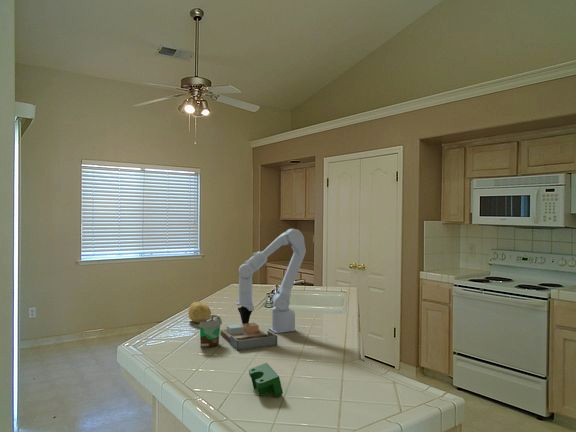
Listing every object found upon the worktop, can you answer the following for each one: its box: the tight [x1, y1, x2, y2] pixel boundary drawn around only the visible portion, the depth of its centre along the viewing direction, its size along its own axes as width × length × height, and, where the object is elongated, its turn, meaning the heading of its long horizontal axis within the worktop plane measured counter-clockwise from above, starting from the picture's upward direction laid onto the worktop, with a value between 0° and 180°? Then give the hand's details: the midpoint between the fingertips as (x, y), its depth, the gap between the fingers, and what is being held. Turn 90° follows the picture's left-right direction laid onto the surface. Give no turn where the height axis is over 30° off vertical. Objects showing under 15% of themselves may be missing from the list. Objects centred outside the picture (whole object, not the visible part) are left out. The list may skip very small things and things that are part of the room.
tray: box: [229, 330, 278, 351], centre depth 161 cm, size 16×8×4 cm, turn 116°
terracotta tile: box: [242, 322, 260, 333], centre depth 173 cm, size 5×5×2 cm
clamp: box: [248, 362, 284, 398], centre depth 118 cm, size 12×6×9 cm, turn 14°
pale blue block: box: [226, 323, 243, 335], centre depth 170 cm, size 5×5×2 cm
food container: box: [198, 314, 223, 349], centre depth 160 cm, size 12×6×10 cm, turn 168°
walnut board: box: [219, 326, 267, 344], centre depth 171 cm, size 15×14×2 cm
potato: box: [188, 301, 212, 324], centre depth 194 cm, size 10×14×10 cm
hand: (245, 324), depth 179 cm, fingers closed
